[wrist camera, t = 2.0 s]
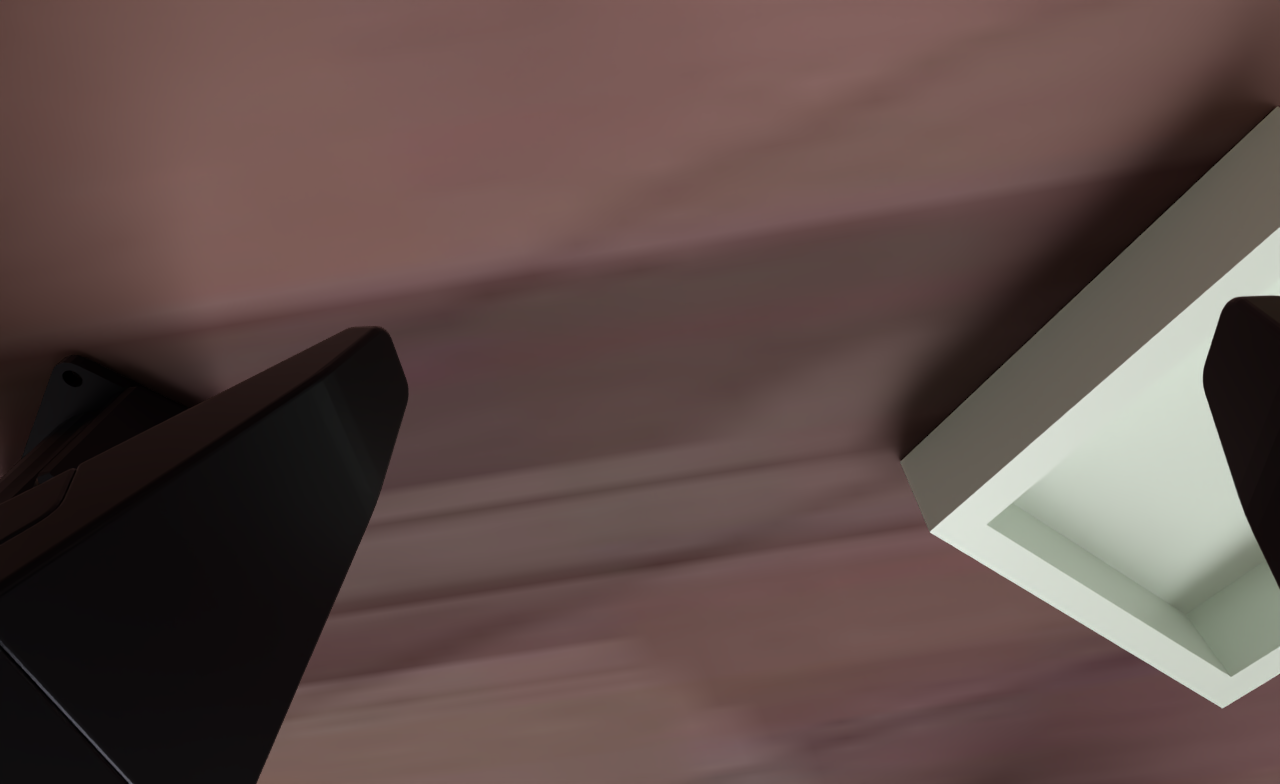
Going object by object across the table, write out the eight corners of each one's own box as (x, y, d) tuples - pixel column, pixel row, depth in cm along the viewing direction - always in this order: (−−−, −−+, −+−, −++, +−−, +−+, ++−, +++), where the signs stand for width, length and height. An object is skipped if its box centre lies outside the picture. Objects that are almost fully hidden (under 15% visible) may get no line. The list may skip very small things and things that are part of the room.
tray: (1169, 630, 27) (1222, 708, 25) (900, 461, 24) (929, 531, 21) (1552, 371, 22) (1671, 435, 19) (1277, 106, 19) (1377, 142, 16)
